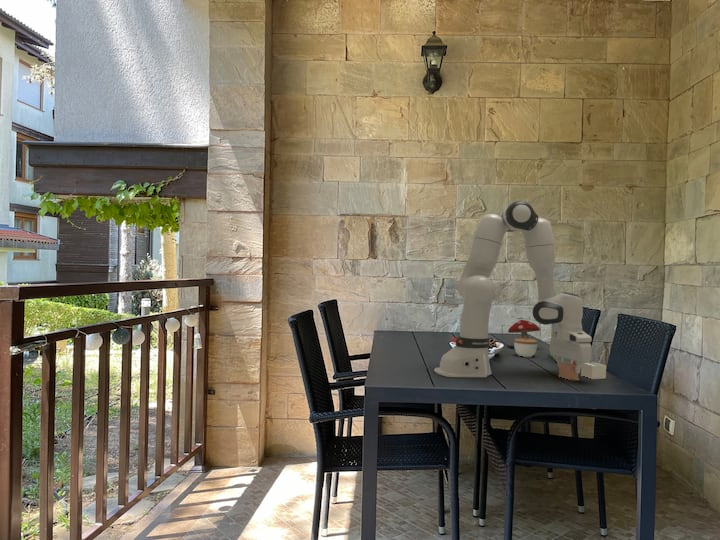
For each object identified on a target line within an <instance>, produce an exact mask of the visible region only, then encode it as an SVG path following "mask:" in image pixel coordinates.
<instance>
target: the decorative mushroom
mask: <svg viewBox="0 0 720 540" xmlns="http://www.w3.org/2000/svg"><path fill="white" fill-rule="evenodd" d="M539 331H541V328H540V327H539V326H538V325H537V324H535V323H534V322H532V321H530V320H526V319H520V320H518V321H516V322H515V323H513V324H512V325H511V326H510V327H509V328H508V331H507V333H509V334H518V333H519V334H521V339H525V337H527V339H530V337H529V334H528V332H529V333H530V332H531V333H532V332H539Z"/></svg>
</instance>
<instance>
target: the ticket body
mask: <svg viewBox="0 0 720 540" xmlns="http://www.w3.org/2000/svg"><path fill="white" fill-rule="evenodd" d="M580 376H581V377H583V376H585V377H584V378H586V377H588V378H587V379H590V378H591V379H590V380H601V379H603V380H605V379H606V378H607V365H605V364H601V363H599V362H589V363H583V365H582V367H581V369H580Z"/></svg>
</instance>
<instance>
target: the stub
mask: <svg viewBox="0 0 720 540" xmlns="http://www.w3.org/2000/svg"><path fill="white" fill-rule="evenodd" d="M576 365H577V364H571V363H559V369H558V376H561V377H564V378H567V379H579V373H574V368H575V367H576Z"/></svg>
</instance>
